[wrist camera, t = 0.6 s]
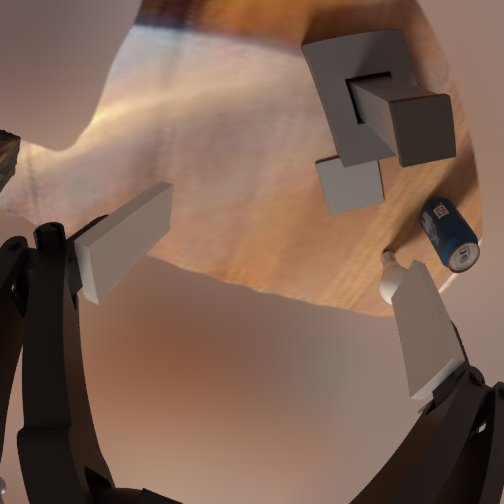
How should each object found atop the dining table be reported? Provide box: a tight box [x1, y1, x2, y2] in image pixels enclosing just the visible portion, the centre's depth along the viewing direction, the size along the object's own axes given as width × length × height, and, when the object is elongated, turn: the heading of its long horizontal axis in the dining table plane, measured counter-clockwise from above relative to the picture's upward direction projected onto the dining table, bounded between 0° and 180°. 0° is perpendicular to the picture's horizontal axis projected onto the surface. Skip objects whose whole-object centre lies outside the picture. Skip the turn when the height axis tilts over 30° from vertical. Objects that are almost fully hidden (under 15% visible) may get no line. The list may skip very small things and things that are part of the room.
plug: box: [345, 73, 456, 167], centre depth 23 cm, size 5×5×19 cm
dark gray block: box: [301, 29, 417, 168], centre depth 28 cm, size 16×12×5 cm
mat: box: [315, 157, 384, 215], centre depth 39 cm, size 9×9×1 cm
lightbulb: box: [379, 251, 408, 305], centre depth 43 cm, size 6×6×11 cm
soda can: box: [421, 198, 480, 273], centre depth 35 cm, size 7×7×12 cm
